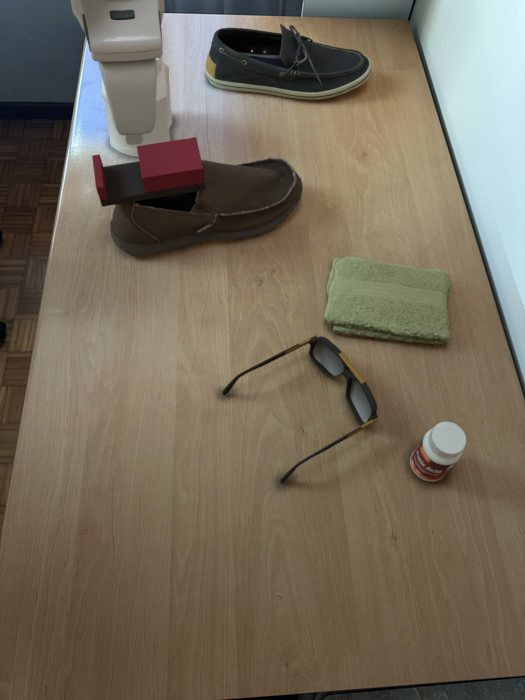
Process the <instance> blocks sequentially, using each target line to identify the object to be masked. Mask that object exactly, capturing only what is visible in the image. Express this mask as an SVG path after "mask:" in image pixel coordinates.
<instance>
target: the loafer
mask: <svg viewBox="0 0 525 700" xmlns="http://www.w3.org/2000/svg"><path fill="white" fill-rule="evenodd" d="M201 161H202V165H203V170H204V179H205V187H206V190H202V191H196V192H190V193H183V194H177V195H171V196H165V197H159V198H153V199H147V200H141V201H135V202H128V203H122V204H116V205H114V209H113V212H112V216H111V217H112V218H111V220H110V225H109V226H110V227H109V230H110V231H109V232H110V237H111V239H112V241H113V243H114V244H115V245H116V246H117V248H118V249H120V251H122V252H124V253H126V254H129V255H132V256H148V255H153V254H159V253H165V252H168V251H172V250H177V249H181V248H184V247H189V246H192V245H196V244H200V243H206V242H215V241H235V240H236V241H237V240H243V239H249V238H250V239H251V238H254V237H257V236H260V235H263V234H265V233H268V232H269V231H271V230H273V229H274V228H276V227H277V226H279V225H280V224H282V223H283V222H284V221H285V220H286V219H287V218H288V217H290V215H291V214H292V213H293V212H294V211H295V210H296V208H297V207H298V205H299V204H300V201H301V199H302V195H303V191H304V190H303V189H304V186H303V180H302V178H301V177H300V175H299V174H298V172H297V171H296V170H295V168H294V167H293V165H291V163H289V161H288V160H286V159H284V158H281V157H268V158H263V159H257V160H252V161H247V162H245V161H244V162H242V163H238V164H230V163H222V162H216V161H212V160H211V161H210V160H207V159H206V160H205V159H201Z"/></svg>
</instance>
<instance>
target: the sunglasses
mask: <svg viewBox="0 0 525 700" xmlns="http://www.w3.org/2000/svg"><path fill="white" fill-rule="evenodd" d="M308 344H309V346H310V347H309V349H308V350H309V351H308V355H309V357H310V359H311V361H312V362H313V363H314V364H315V365H316V366H317V367H318V368H319V369H320V370H321V371H322V372H323V373H324V374H325V375H326V376H327V377H329V378H330V379H336V378H339V377H341V376H342V377H343V378H344V379H345V381H346V383H345V399H346V402H347V404H348V405H349V407H350V409H351V411H352V413H353V415H354V417H355V418H356V420H357V422H358V423H359V424H360V426H358V427H357V428H354V429H353V430H351V431H349V432H347V433H346V434H345V435H343V436H341V437H340V438H338V439H336V440H334V441H333V442H331V443H329V444H327V445H325V446H324V447H322V448H321V449H319V450H317V451H315V452H314V453H312V454H310V455H309V456H306V457H305V458H303V459H302V460H300V461H299V462H297V463H295V464H294V465H293V467H292V466H291V468H290V469H289V470H288V471H287V472H286V473H285V474H284V475H283V476H282V477H281V478H280V479H279V483H280V484H283V483H285V482H286V481H287V480H288V479H290V478H289V477H291V475H292V474H293V473H294V472H295V471H296V470H297V469H298V468H299V466H301V465H302V464H305V463H306V462H308V461H309V460H311V459H313V458H315V457H316V456H318V455H320V454H323V453H324V452H326V451H328V450H329V449H331V448H333V447H334V446H336V445H338V444H340V443H342V442H343V441H345V440H348V439H349V438H351V437H353V436H354V435H356V434H358V433H359V432H361V431H363V430H364V429H366V428H368V427H370V426H371V425H373V424H375V423H377V422H378V421H379V420H380V419H381V417H380V415H379V414H378V404H377V400H376V399H375V396H374V395H373V392H372V390H371V388H370V387H369V385H368V383H367V381H366V380H365V378H364V377H363V376H362V375H361V373H360V372H359V371H358V369H357V368H356V366H355V365H354V364H353V363H352V362H351V360H350V359H349V358H348V357H347V355H346V354H345V352H343V351H342V350H341V349H340V348H339V347H338V346H337V345H336V344H334V343H333V341H332V340H330V339H329V338H328V337H326V336H322V335H320V336H319V335H318V334H315V335H313V336H310V337H308V338H306V339H305V340H303V341H301V342H299V343H297V344H295V345H292V346H291V347H288V348H287V349H284V350H282V351H281V352H278V353H277V354H275V355H273V356H270V357H269V358H267V359H265V360H263V361H262V362H259V363H257V364H255V365H253V366H252V367H250V368H248V369H245V370H244V371H242V372H240V373H238V374H236V376H234V378H232V380H230V381H229V383H227V385H226V386H225V388H223V390H222V392H221V395H222V396H226V395H227V394H229V393H230V392H231V390H232V389H233V387H234V385H235V384H236V383H237V381H238V380H239V379H240V378H242V377H243V376H245V375H247V374H248V373H252V372H253V371H256V370H257V369H259V368H262V367H264V366H266V365H268V364H270V363H273V362H275V361H276V360H278V359H281V358H282V357H284V356H286V355H288V354H290V353H292V352H294V351H296V350H299V349H300V348H302V347H304V346H306V345H308Z"/></svg>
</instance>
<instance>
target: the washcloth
mask: <svg viewBox="0 0 525 700" xmlns="http://www.w3.org/2000/svg"><path fill="white" fill-rule="evenodd" d="M450 277H451V276H450V274H449V273H448V272H447V271H445V270H443V269H437V268H422V267H417V266H411V265H406V264H399V263H390V262H384V261H378V260H373V259H368V258H364V257H359V256H358V257H357V256H344V255H343V256H336V257H334V258H333V260H332V264H331V270H330V273H329V276H328V279H327V283H326V294H327V301H326V307H325V311H324V315H323V322H325V323H326V325H330V326H332V325H333V326H332V327H333V328H332V332H333V333H335V334H338V335H342V334H344V335H349V336H358V337H361V338H362V337H363V338H366V337H367V338H369V337H371V338H375V339H381V340H390V341H397V342H401V341H402V342H406V343H413V342H414V343H419V344H420V343H422V344H427V345H428V344H432V345H433V346H434V345H436V346H437V345H441V344H442V345H443V344H447V343H449V342H450V340H451V326H450V323H449V321H450V312H449V311H448V299H449V296H450V291H451V290H450V289H451V287H452V281H451V278H450Z"/></svg>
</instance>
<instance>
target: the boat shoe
mask: <svg viewBox="0 0 525 700" xmlns="http://www.w3.org/2000/svg"><path fill="white" fill-rule="evenodd" d="M279 27H280V32H281V33H280V32H274V31H268V30H261V29H253V28H242V27H221V28H219V29H217V30H216V31H215V32H214V33H213V36H212V40H211V43H210V47H209V51H208V54H207V56H206V60H205V63H204V71H205V74H206V77H207V80H208V81H209V82H210V84H212V86H214V87H216V88H218V89H222V90H228V91H236V92H246V93H247V92H248V93H255V94H263V95H270V96H276V97H282V98H288V99H297V100H310V101H317V100H326V99H330V98H334V97H338V96H341V95H343V94H346V93H349V92H351V91H353V90H356V89H357V88H359V87H360V86H362V85H363V84H364V83H366V82H367V80H369V78H370V76H371V73H372V67H373V66H372V62H371V59H370V58H369V57H368V56H367V55H366V54H364V53H362V52H361V51H359V50H357V49H351V48H343V47H337V46H332V45H328V44H325V43H320V42H316V41H314V40H313V39H312V38H310V37H308V36H305V35H303V34H301V32H299V31H298V30H297V28H296V27H295V26H294V25H293V24H289V25H288V27H289V28H287V27H286V26H284V25H283V24H282V23H280V24H279Z"/></svg>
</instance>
